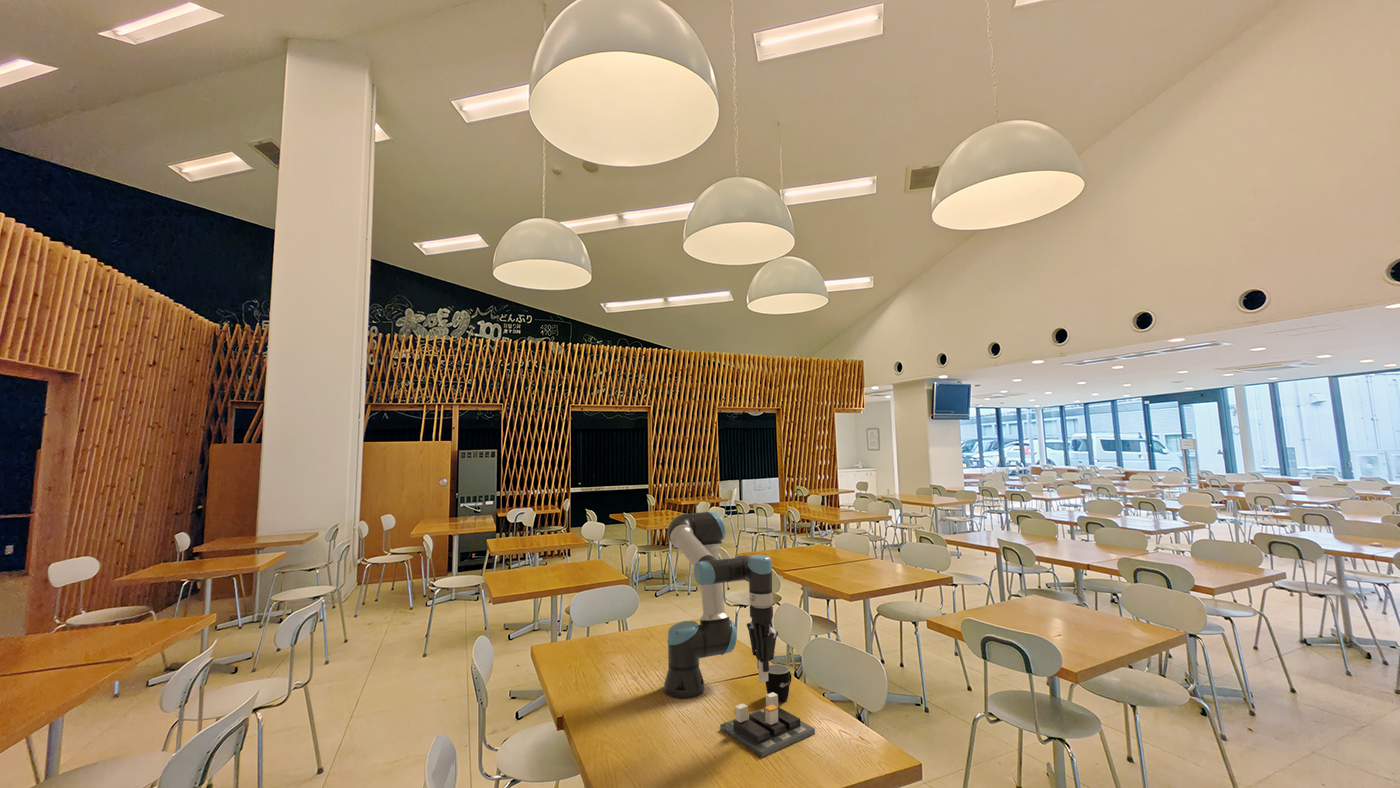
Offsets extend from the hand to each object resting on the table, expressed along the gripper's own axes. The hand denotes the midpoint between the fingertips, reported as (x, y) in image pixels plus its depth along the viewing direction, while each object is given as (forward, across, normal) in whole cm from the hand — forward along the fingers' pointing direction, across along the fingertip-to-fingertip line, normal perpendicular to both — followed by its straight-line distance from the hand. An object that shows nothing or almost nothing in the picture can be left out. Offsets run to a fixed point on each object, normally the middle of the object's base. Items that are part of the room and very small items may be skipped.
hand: (763, 681), depth 170 cm
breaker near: (+11, -4, -7) cm, 13 cm away
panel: (+15, +1, 0) cm, 15 cm away
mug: (+15, -14, +20) cm, 29 cm away
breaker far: (+11, -4, +6) cm, 13 cm away
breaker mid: (+11, +3, 0) cm, 12 cm away
